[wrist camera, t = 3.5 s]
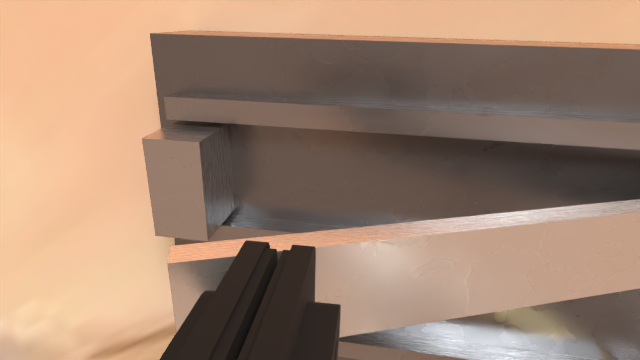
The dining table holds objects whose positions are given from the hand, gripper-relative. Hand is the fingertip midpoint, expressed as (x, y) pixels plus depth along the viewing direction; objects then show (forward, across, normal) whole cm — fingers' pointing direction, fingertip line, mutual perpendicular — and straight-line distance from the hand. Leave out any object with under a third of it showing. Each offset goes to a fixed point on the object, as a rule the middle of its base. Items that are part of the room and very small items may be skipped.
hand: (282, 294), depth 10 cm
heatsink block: (+13, -5, +7) cm, 16 cm away
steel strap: (+4, -7, +1) cm, 8 cm away
